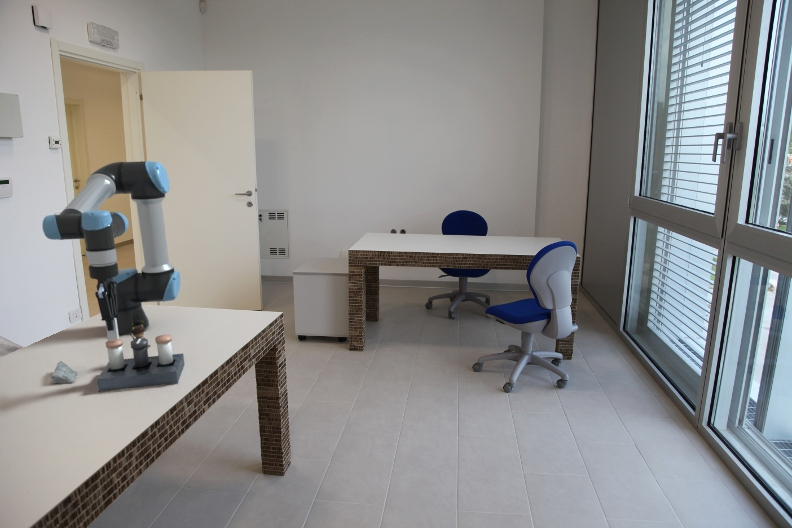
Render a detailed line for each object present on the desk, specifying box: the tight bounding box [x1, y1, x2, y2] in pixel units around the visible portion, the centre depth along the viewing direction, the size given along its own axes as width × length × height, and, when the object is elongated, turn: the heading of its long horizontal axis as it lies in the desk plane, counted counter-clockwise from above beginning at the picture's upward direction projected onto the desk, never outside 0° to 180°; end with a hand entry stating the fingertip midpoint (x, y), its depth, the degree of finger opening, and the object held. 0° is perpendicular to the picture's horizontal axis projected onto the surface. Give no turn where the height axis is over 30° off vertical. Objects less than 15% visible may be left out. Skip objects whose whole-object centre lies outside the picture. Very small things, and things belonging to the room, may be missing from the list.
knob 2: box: [154, 334, 173, 365], centre depth 163 cm, size 5×5×8 cm
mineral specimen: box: [51, 360, 79, 385], centre depth 165 cm, size 6×12×4 cm, turn 23°
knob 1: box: [105, 338, 125, 369], centre depth 160 cm, size 5×5×8 cm
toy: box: [129, 321, 151, 350], centre depth 174 cm, size 6×6×15 cm
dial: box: [129, 337, 149, 367], centre depth 162 cm, size 5×5×8 cm
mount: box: [96, 353, 185, 393], centre depth 163 cm, size 14×22×4 cm, turn 104°
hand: (113, 339), depth 159 cm, fingers closed
